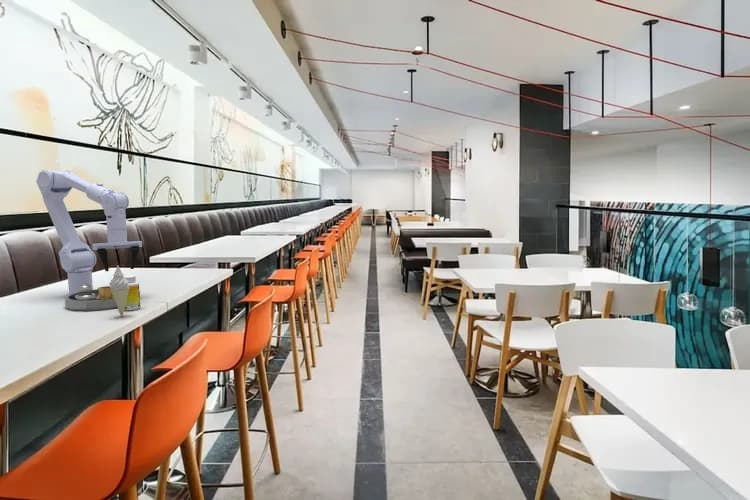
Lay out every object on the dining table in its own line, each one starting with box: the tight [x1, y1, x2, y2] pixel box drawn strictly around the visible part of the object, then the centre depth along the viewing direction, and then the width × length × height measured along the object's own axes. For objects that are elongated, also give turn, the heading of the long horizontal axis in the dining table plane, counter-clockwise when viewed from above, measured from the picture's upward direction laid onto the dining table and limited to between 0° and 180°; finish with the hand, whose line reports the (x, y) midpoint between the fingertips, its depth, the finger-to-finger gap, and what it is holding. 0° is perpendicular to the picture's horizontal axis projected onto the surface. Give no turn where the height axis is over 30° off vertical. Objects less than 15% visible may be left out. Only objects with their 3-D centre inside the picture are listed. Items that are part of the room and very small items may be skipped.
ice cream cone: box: [108, 264, 129, 317], centre depth 142 cm, size 5×5×15 cm
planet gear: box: [95, 285, 114, 300], centre depth 155 cm, size 6×6×6 cm
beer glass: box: [124, 274, 141, 312], centre depth 151 cm, size 6×6×10 cm
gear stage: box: [64, 284, 141, 312], centre depth 159 cm, size 21×21×6 cm
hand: (119, 269), depth 166 cm, fingers open, 7 cm apart
